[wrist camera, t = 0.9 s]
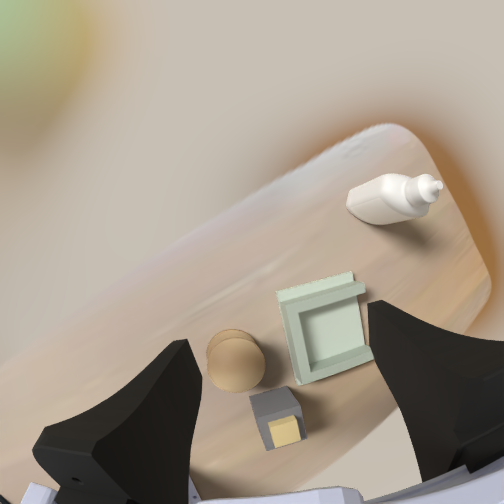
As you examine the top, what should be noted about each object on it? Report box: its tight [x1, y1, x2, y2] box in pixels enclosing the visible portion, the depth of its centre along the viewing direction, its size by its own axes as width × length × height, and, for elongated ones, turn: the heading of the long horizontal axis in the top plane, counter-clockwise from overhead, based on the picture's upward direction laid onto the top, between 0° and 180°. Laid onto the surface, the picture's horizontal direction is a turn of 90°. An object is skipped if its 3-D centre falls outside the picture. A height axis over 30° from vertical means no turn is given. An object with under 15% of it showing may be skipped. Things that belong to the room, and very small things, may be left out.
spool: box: [207, 329, 265, 393], centre depth 28 cm, size 5×5×4 cm
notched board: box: [275, 271, 374, 386], centre depth 30 cm, size 10×8×3 cm
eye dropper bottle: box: [346, 174, 443, 225], centre depth 27 cm, size 4×6×12 cm
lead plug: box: [249, 386, 307, 451], centre depth 28 cm, size 4×4×6 cm
